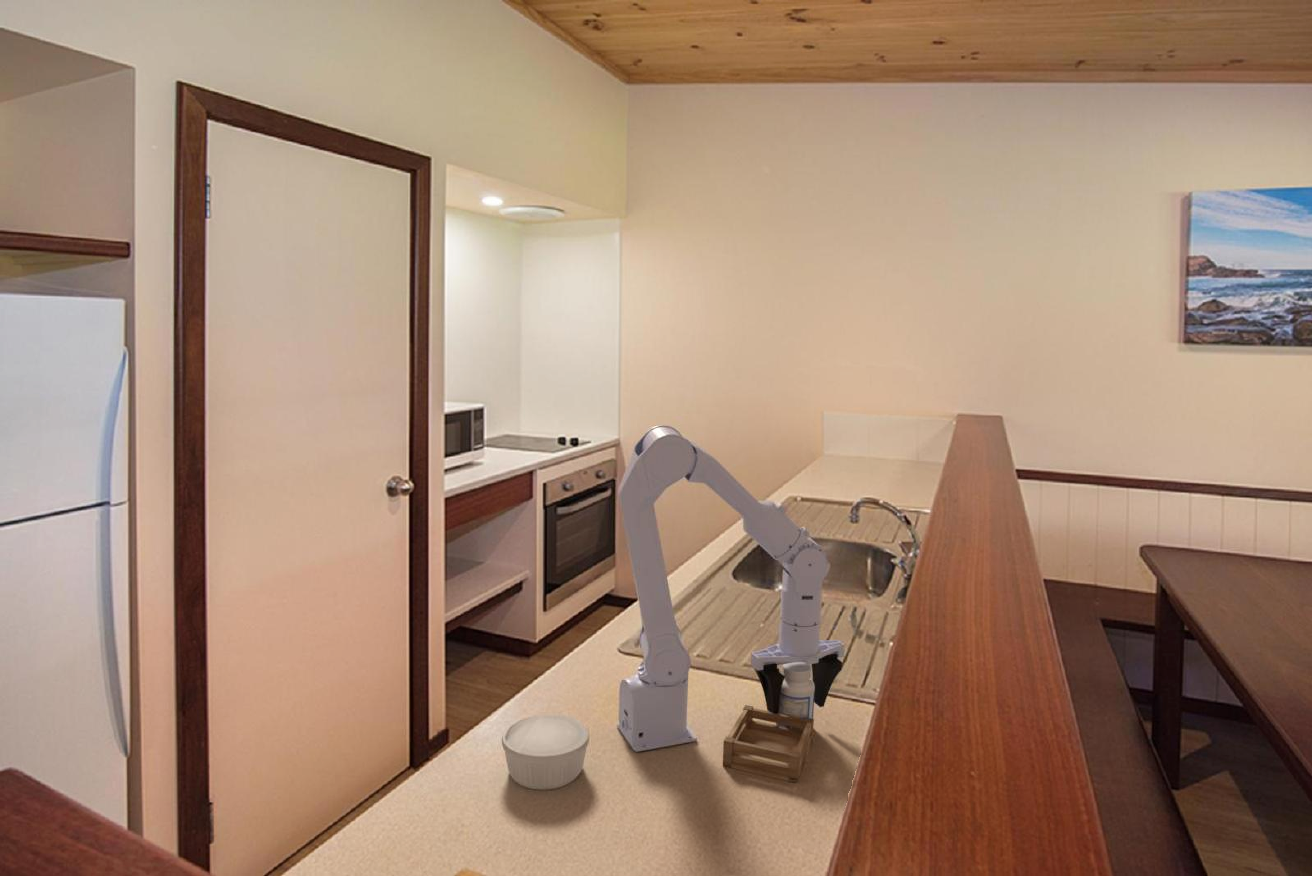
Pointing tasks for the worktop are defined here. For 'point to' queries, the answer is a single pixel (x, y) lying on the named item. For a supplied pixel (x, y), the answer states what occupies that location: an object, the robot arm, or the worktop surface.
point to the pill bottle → (797, 692)
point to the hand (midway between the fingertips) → (795, 708)
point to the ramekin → (545, 750)
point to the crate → (768, 744)
